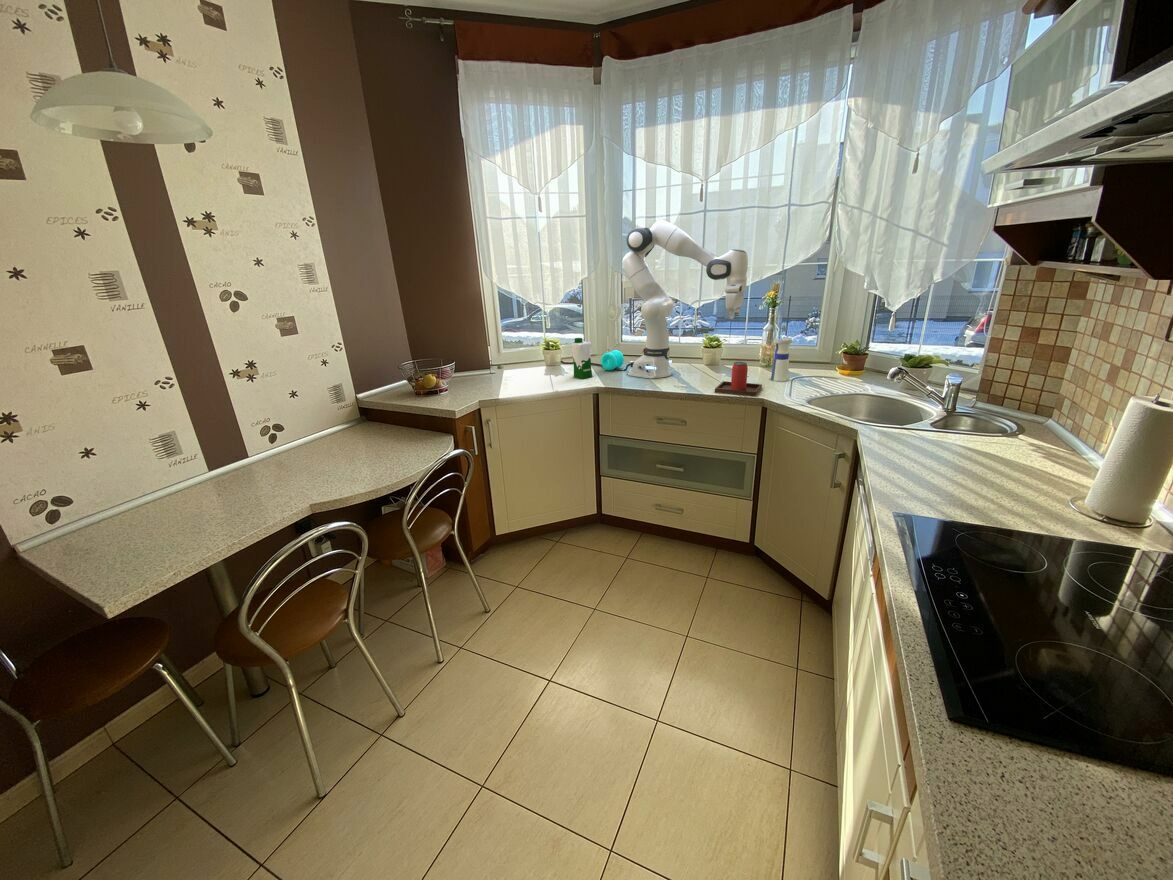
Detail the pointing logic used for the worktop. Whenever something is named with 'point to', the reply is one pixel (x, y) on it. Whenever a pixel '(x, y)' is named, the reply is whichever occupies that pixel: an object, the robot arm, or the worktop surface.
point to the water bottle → (781, 359)
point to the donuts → (612, 360)
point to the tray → (750, 390)
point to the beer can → (739, 376)
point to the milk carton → (581, 358)
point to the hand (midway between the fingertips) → (734, 317)
